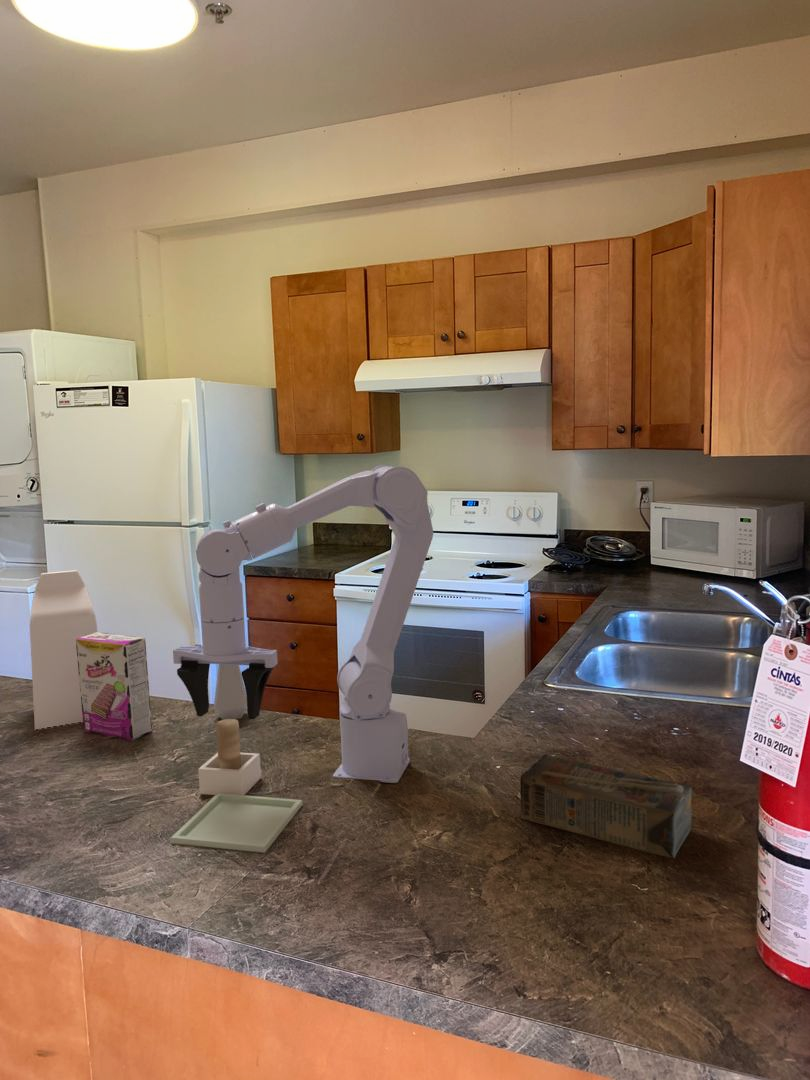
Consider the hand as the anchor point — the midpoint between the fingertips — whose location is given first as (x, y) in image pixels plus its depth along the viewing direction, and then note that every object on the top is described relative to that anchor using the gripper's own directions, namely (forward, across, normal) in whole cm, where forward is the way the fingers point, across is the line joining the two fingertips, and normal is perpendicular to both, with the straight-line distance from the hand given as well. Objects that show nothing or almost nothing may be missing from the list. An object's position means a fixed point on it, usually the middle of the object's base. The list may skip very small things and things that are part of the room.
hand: (228, 715), depth 108 cm
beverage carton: (+11, -50, +2) cm, 51 cm away
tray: (+10, -6, +10) cm, 16 cm away
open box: (+10, 0, 0) cm, 11 cm away
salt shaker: (+11, +13, -27) cm, 32 cm away
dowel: (+10, 0, 0) cm, 10 cm away
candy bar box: (+11, +29, -17) cm, 35 cm away
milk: (+11, +43, -24) cm, 50 cm away
